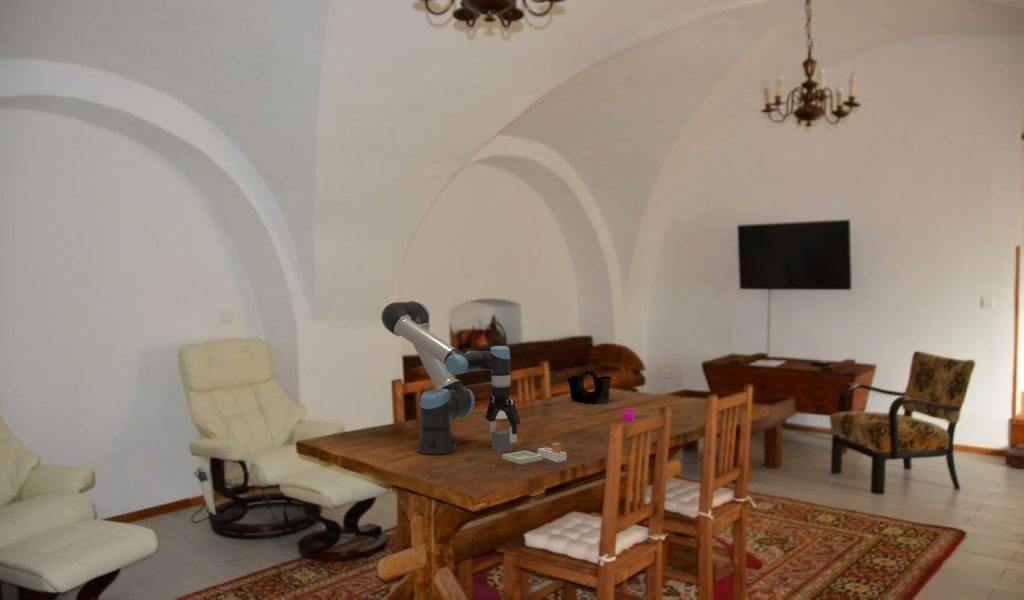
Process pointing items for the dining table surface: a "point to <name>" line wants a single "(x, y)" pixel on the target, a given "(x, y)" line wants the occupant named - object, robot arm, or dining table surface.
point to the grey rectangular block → (501, 441)
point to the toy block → (628, 415)
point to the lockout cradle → (522, 457)
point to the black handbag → (586, 397)
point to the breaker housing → (552, 454)
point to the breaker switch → (556, 447)
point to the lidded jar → (501, 415)
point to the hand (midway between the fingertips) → (503, 440)
